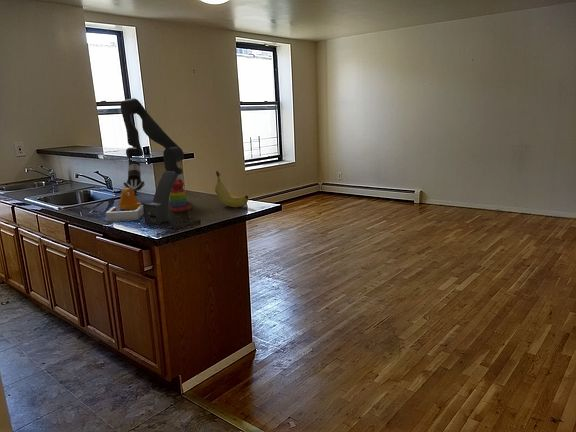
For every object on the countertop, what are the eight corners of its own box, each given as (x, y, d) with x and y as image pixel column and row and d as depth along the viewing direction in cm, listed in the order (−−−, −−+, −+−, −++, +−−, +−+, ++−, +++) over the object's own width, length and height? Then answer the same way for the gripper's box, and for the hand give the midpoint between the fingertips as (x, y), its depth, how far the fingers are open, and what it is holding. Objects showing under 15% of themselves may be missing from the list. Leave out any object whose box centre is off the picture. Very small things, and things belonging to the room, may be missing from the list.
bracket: (144, 213, 243) (143, 205, 242) (138, 219, 229) (137, 211, 228) (114, 214, 242) (113, 206, 240) (106, 221, 228) (105, 213, 227)
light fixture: (184, 217, 231) (180, 171, 225) (158, 225, 217) (153, 176, 211) (170, 215, 236) (165, 170, 231) (144, 222, 222) (138, 175, 216)
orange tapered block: (125, 211, 250) (122, 190, 247) (119, 209, 255) (116, 189, 252) (142, 207, 257) (140, 187, 254) (137, 206, 262) (134, 186, 259)
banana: (251, 207, 249) (249, 172, 244) (245, 209, 244) (243, 173, 239) (220, 203, 260) (218, 170, 255) (214, 205, 255) (211, 171, 251)
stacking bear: (192, 208, 251) (190, 177, 247) (183, 212, 242) (180, 180, 238) (176, 207, 255) (173, 177, 250) (166, 211, 245) (163, 180, 241)
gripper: (122, 170, 275) (121, 192, 267) (144, 168, 278) (144, 191, 269) (124, 177, 282) (124, 199, 273) (146, 175, 284) (146, 198, 276)
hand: (134, 195), depth 271 cm, fingers closed
